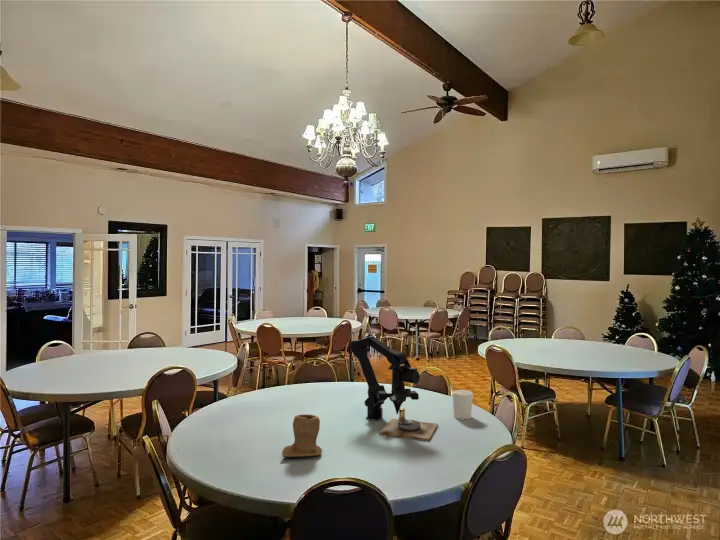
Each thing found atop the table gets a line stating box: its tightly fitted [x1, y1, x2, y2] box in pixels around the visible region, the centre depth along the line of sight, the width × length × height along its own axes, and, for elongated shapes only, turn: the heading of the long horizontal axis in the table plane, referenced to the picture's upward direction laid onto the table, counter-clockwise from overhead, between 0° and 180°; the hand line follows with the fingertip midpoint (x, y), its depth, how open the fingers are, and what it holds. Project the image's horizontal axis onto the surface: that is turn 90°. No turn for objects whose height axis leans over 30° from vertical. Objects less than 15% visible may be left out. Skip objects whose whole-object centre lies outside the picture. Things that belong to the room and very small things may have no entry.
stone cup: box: [281, 414, 323, 458], centre depth 180 cm, size 15×12×15 cm
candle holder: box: [451, 389, 474, 420], centre depth 225 cm, size 10×10×12 cm
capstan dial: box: [398, 407, 421, 432], centre depth 209 cm, size 14×10×6 cm
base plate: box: [378, 418, 439, 442], centre depth 207 cm, size 22×20×1 cm
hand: (397, 413), depth 213 cm, fingers closed
